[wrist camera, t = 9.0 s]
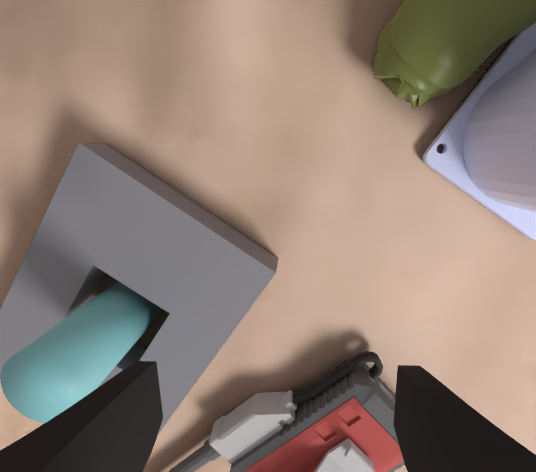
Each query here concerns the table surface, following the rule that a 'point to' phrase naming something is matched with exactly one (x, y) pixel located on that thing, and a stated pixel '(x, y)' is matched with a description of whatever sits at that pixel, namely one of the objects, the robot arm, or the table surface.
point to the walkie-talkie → (311, 427)
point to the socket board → (136, 267)
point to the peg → (76, 353)
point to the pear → (444, 43)
